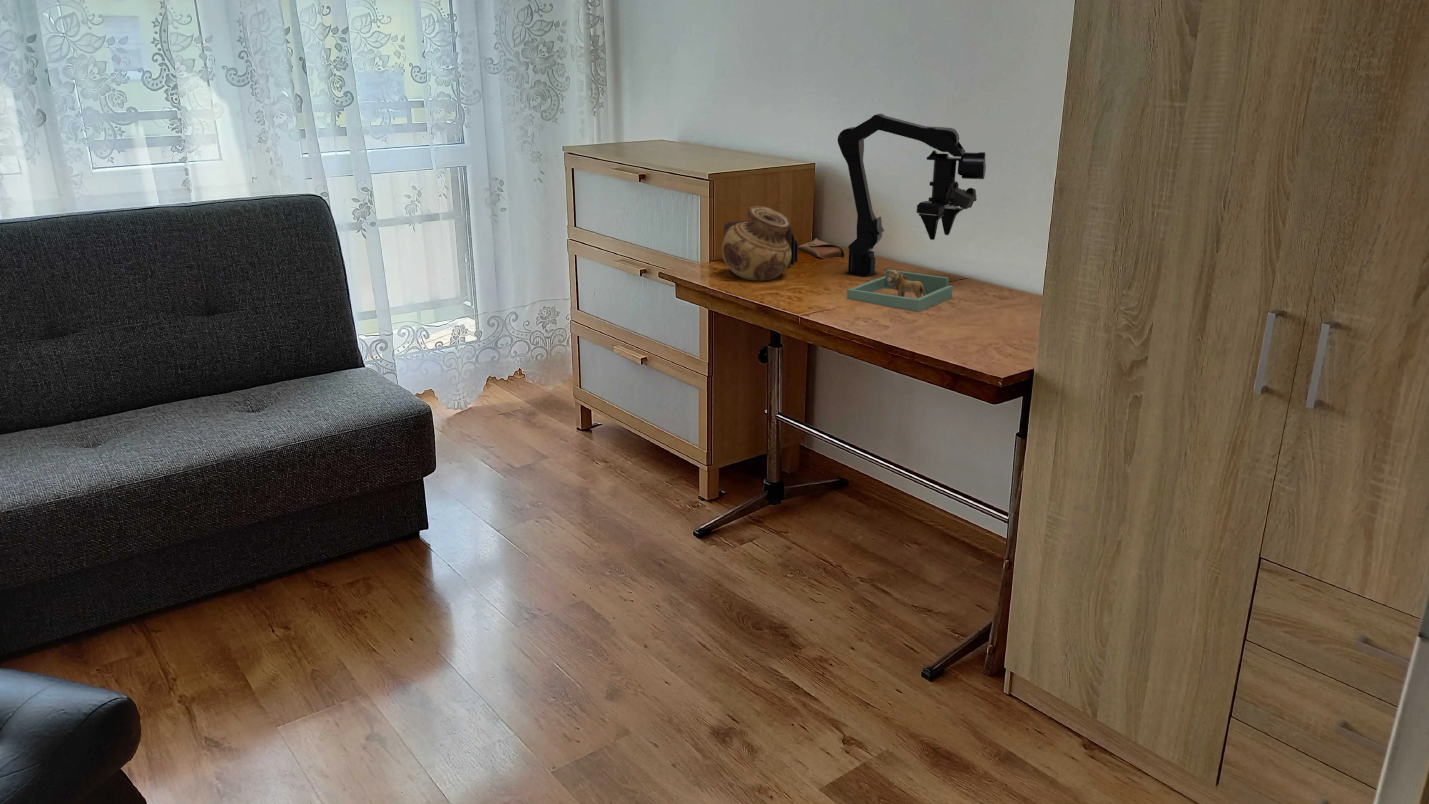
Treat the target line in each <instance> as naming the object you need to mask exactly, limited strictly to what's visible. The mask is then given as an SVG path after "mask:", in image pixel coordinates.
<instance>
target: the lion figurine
mask: <svg viewBox="0 0 1429 804" xmlns="http://www.w3.org/2000/svg"><path fill="white" fill-rule="evenodd" d="M892 270H893V271H891V272H889V277H888V278H887V281H888V284H890V285H891V286H893V287H894V290H895V291H897V296H901V297H905V294H906V293H910V294H911V293H914V295H915V297H916V299H918V298H920V297H922V296H925V295H926V294H925V292H924V288H923V284H922V283H921V282H919V281H909V280H908V279H907V277H906V276H905V275H903V274H902V273H901V272H898V271H899V270H895V269H892ZM905 292H906V293H905ZM922 292H923V294H922Z"/></svg>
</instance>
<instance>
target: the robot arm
mask: <svg viewBox="0 0 1429 804" xmlns="http://www.w3.org/2000/svg"><path fill="white" fill-rule="evenodd" d="M878 131H882V132H885V133H889V134H893V135H897V136H900V137H904V138H908V139H910V140H911V139H913V140H915V141H919V142H922V143H923V144H925V145H927V146H929V147H930V148H932V149H933V150H932V152H931V153H930V154H929V155H928V156H927V157H926V161H933V173H932V180H931V181H929V186H930V187H932V188H931V196H930V197H928V200H924V201H921V202H919V203H918V204H917V205H916V211H915V212H916V213H917V214H918V216H919V217H920V218H921V220H922V223H923V225H924V227H925V230H926V232H927V235H928V237H929V240H930V241H935V240H936V235H937V230H938V225H939V220H940V219H941V224H942V229H943V233H944V236H948V235H949V236H950V234H951V231H952V228H953V224H954V223H955V220H956V217H957V215H958V214H959V213H961V212H963V210H968V209H971V208H972V207H973V204H974V203H975V202H976V201H977V190H976V189H975V188H973V187H968V188H967V189H962V188H959V185H960V184H959V182H958V181H956V173H957V175H959V176H961V179H964V180H965V179H969V180H970V179H971V180H985V178H986V177H985V175H986V169H987V164H986V152H985V151H980V152H966V150H965V148H964V147H963V145H962V143H960V135H959V132H958V131H957V129H955V128H953V127H945V126H944V127H943V126H928V125H927V126H926V125H921V124H918V123H914V122H910V121H907V120H902V119H899V118H895V117H891V116H888V115H885V114H883V113H876V114H874V115H873V116H871V117H870V118H869V119H867V120H865V121H863V122H862V123H860V124H858V125H857V126H850V127H848V128H845V129H843V130H842V131H840V133H839V134H838V136H837V144H838V147H839V149H840V152H841V154H842V156H843V158H844V160H845V162H846V164H847V167H848V174H849V179H850V183H851V188H852V194H853V198H854V205H855V210H856V217H857V218H856V239H854V241H852V242H851V243H850V244H849V245H848V246H847V247H848V263H847V265H848V266H847V271H845V272H844V273H845V274H846V275H853V276H860V277H868V276H870V275H873V274H877V271H876V257H875V251H872V250H873V249H874V247H875V246H876V245H877V244H878V243H879V242H880V241H881V239H882V237H883V232H885V229H884V227H883V225H882V216H878V217H876V215H875V213H874V211H873V205H872V201H871V195H870V190H869V185H868V180H867V174H866V170H865V164H864V153H865V139H867V138H868V137H870V136H872V135H873V134H875V133H876V132H878ZM937 151H938V152H941V153H938V152H937ZM949 154H950V155H951V156H952V157H951V156H950V155H949ZM957 162H958V163H957ZM956 171H957V172H956Z"/></svg>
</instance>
